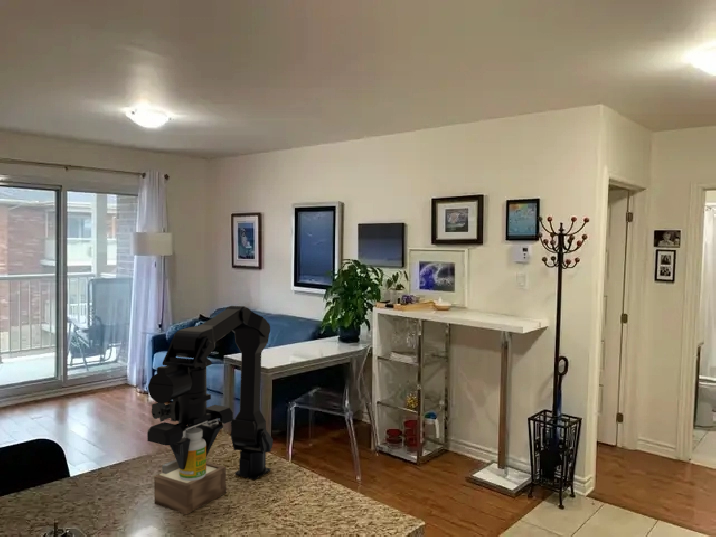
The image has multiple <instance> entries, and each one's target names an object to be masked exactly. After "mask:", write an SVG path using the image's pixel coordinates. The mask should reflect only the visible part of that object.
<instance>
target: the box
mask: <svg viewBox="0 0 716 537" xmlns="http://www.w3.org/2000/svg"><path fill="white" fill-rule="evenodd" d="M206 466H209V467H213V468H217V469H215V470H213V471H211V472H209V473H207V474H206V475H205V476H204V477H203V478H201V479H199V480H194V481H191V482H189V483H185V482H181V481H178V480H175V479H171V478H168V477H165V476H161V475H159V474H156V475H154V476H153V477H154V479H153V480H154V482H153V484H154V489H153V490H154V492H153V494H154V499H153V500H154V504H155V505H158V506H161V507H162V508H163V507H164V508H166V509H169V510H171V511H175V512H178V513H181V514H184V515H188V514H190V513H192V512H194V511H195V510H198V509H200V508H201V507H203V506H204V505H207V504H209V503H210V502H212V501H214V500H216V499H217V498H219V497H222V496H223V495H225V494H226V493H227V490H226V489H227V483H226V482H227V473H226V472H227V471H226V470H227V468H226V467H227V466H224V465H221V464H216V463H212V462H209V461H206Z"/></svg>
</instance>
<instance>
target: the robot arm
mask: <svg viewBox="0 0 716 537" xmlns="http://www.w3.org/2000/svg"><path fill="white" fill-rule="evenodd" d="M230 332H232V333H234V339H235V344H236V346H237V348H238V350H239V351H240V353H241V354H240V355H241V357H240V358H241V360H240V361H241V362H240V363H241V364H240V388H239V389H240V390H239V391H240V393H239V412H238V413H237V415H236V416H235V418H233V417H234V416H233V414H234V413H233V411H232V409H231V408H230V407H228V406H222V405H217V404H214V405H210V406H208V407H207V403H208V402H207V401H209V400H212V394H210V393H207V392H208V391H207V390H208V389H207V383H208V382H207V367H208V366H211V365H212V364H213V362H212V361H211V360H210V359H209V357H208V356H209V355H210V354H211V353H213V351H214V350H215V349H216V343H217V341H220V339H222V338H223V337H225V336H227V334H229V333H230ZM270 333H271V326H270V323H269V322H268V321H267V319H266V318H264V317H263V316H262V315H260V314H258V313H256V312H254V311H253V310H251V309H250V308H249V307H246V305H245V306H244V305H229V306H227V307H226V308H225V309H224V310H223V311H222V312H220V313H218V314H217V315H214V316H213V317H212V318H210V319H209V320H207V321H206V322H204V323H202V324H200V325H195V326H189V327H185V328H182V329H179V330H177V331H176V332H175V333H174V335H173V338H172V340H171V341H170V345H169V347H168V349H167V351H166V353H165V355H164V358H163V361H162V364H161V366H158V367H157V368H156V374H153V376H152V377H150V379H149V382H148V384H147V390H148V394H149V396H150V398H151V399H152V400H153V401H154V402H155V403H152V404H151V415H152V418H153V419H154V420H157V419H159V421H160V423H158V424H154V425H152V426H150V427H149V428H148V429H147V432H146V434H147V438H146V439H147V442H149V443H155V444H158V445H161V446H167V447H168V446H169V448H170V449H171V451H172V452H173V454H174V458H175V460H177V463H178V465H179V468H180V469H185V466H186V462H187V456H188V451H189V445H190V439H189V438H186V431H187V430H189V429H192V428H201V429H202V438H203V439H204V440H205V441H206V458H207V457H208V454H209V453H210V450H211V448H212V446H213V444H214V442H215V440H216V438H217V436H218V435H219V433H220V431H221V430H222V429H223V428H224V425H223V424H227V423H230V427H231V430H230V439H231V443H232V447H233V451H239V459H238V460H239V461H238V462H239V463H238V464H239V470H237V471H235V473H234V474H235V475H236V476H240V477H244V478H247V479H251V480H257V479H259V478H260V477H262V476H264V475H266V474H267V473H269V472H271V468H268V467H267V466H266V459H267V456H266V454H267V453H269V452H271V450H272V448H273V442H274V438H273V437H272V436H271V434H270V433H269V432H268V430H267V421H266V419H265V417H264V415H263V413H262V411H261V410H260V409H261V407H260V406H261V380H262V379H261V378H262V377H261V376H262V373H261V372H262V352H263V351H264V349H265V348H266V346H267V345H268V343H269V339H270V338H269V337H270ZM170 401H172V402H171V403H168V404H166V403H167V402H170ZM168 419H170V422H178V423H176V424H174V423H170V422H169V423H168V422H166V421H165V420H168ZM219 422H221V423H222V424H219Z"/></svg>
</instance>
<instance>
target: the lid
mask: <svg viewBox="0 0 716 537" xmlns="http://www.w3.org/2000/svg"><path fill="white" fill-rule="evenodd" d="M161 468H162V469H161V470H162V471H161V473H160V474H158V475H161V476H165V477H168V478H171V479H175V480H178V481H181V482H185V483H189V482H191V481H185V480H182V479H181V478H180V476H179V465H178V463H177V460H176V459H174V460H171V461H168V462H167V463H164V464H162V467H161ZM215 469H217V468H213V467H209V466H206V474H207V473H209V472H211V471H213V470H215Z"/></svg>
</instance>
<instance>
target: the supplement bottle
mask: <svg viewBox="0 0 716 537" xmlns="http://www.w3.org/2000/svg"><path fill="white" fill-rule="evenodd" d="M186 438H189V439H190V445H189V451H188V456H187V462H186V466H185V469H180V468H179V476H180V478H181V479H182V480H185V481H194V480H199V479H201V478H203V477H204V476H205V475H206V462H207V457H206V441H205V440H204V439H203V438H202V429H201V428H196V427H195V428H192V429H189V430H187V431H186Z"/></svg>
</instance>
